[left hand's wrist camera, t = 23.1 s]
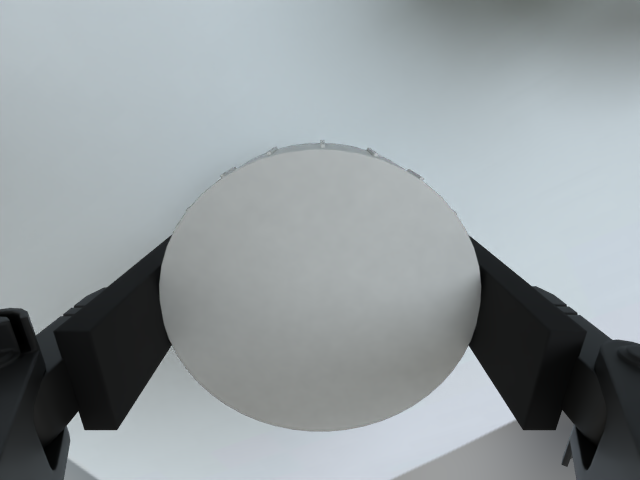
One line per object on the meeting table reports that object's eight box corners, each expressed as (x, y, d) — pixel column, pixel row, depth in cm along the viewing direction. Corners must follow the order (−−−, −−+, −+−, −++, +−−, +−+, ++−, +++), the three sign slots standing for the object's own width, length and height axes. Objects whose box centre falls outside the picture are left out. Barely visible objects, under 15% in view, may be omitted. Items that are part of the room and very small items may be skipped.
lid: (470, 130, 10) (504, 133, 8) (448, 383, 14) (469, 427, 12) (155, 150, 10) (119, 158, 9) (209, 394, 14) (191, 439, 12)
